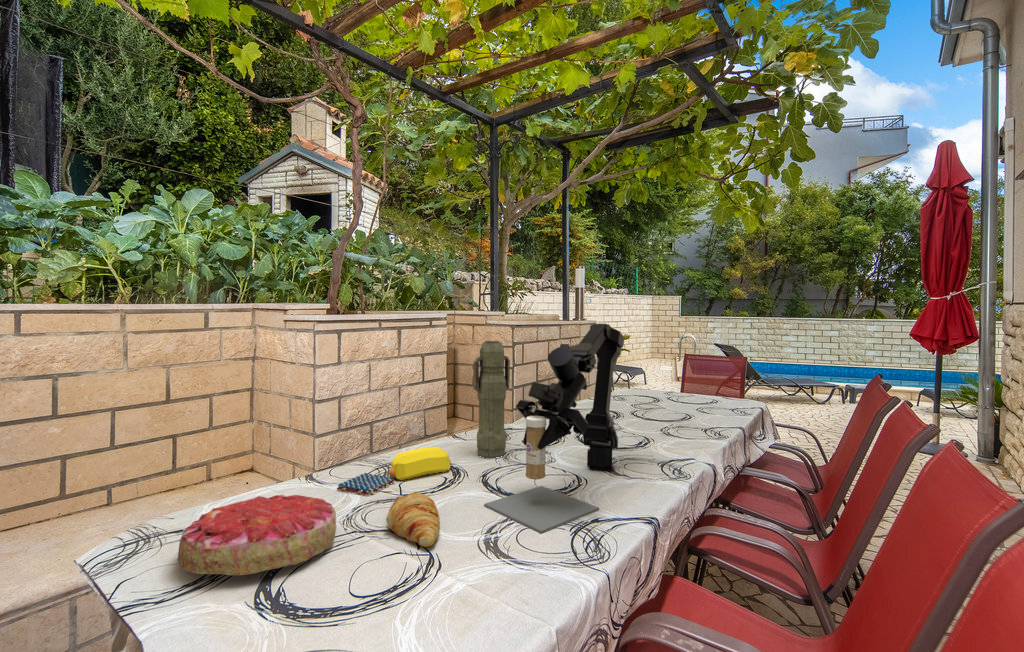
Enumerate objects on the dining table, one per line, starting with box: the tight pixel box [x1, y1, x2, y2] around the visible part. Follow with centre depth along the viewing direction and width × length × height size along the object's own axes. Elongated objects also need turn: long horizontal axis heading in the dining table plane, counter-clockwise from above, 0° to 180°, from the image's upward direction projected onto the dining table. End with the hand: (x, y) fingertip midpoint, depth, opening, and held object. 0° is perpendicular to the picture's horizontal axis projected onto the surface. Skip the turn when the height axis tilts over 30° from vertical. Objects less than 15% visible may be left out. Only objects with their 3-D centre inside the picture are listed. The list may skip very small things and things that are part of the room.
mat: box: [483, 485, 600, 534], centre depth 105 cm, size 18×18×1 cm
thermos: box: [473, 340, 511, 459], centre depth 146 cm, size 9×12×35 cm
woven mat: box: [336, 472, 396, 497], centre depth 118 cm, size 10×11×2 cm
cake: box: [177, 494, 337, 576], centre depth 85 cm, size 25×25×8 cm
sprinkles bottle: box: [525, 416, 547, 481], centre depth 106 cm, size 5×5×14 cm
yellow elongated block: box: [388, 446, 452, 481], centre depth 128 cm, size 18×7×8 cm
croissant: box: [385, 491, 441, 548], centre depth 94 cm, size 21×10×8 cm, turn 29°
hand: (531, 446), depth 106 cm, fingers closed on sprinkles bottle, 4 cm apart
